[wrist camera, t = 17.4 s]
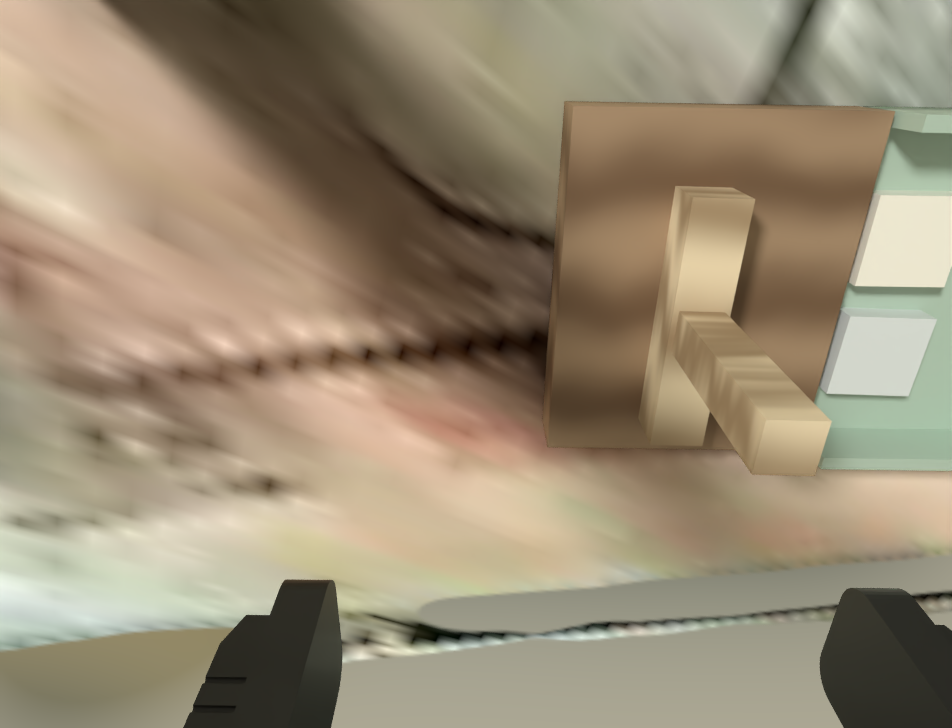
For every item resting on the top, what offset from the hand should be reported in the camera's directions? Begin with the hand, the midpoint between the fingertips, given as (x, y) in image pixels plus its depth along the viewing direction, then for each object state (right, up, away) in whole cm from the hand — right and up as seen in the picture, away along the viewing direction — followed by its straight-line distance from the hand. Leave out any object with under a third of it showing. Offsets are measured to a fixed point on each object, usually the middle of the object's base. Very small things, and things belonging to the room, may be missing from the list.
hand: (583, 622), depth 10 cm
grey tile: (+22, +5, +29) cm, 37 cm away
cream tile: (+22, +11, +26) cm, 36 cm away
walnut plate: (+11, +9, +29) cm, 32 cm away
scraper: (+10, +7, +26) cm, 29 cm away
